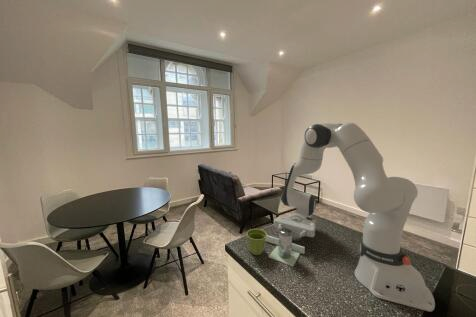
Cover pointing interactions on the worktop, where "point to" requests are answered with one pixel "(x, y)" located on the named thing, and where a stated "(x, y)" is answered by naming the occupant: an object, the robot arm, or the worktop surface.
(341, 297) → the worktop surface
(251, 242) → the plant pot
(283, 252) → the canister
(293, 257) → the pad
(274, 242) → the wall
